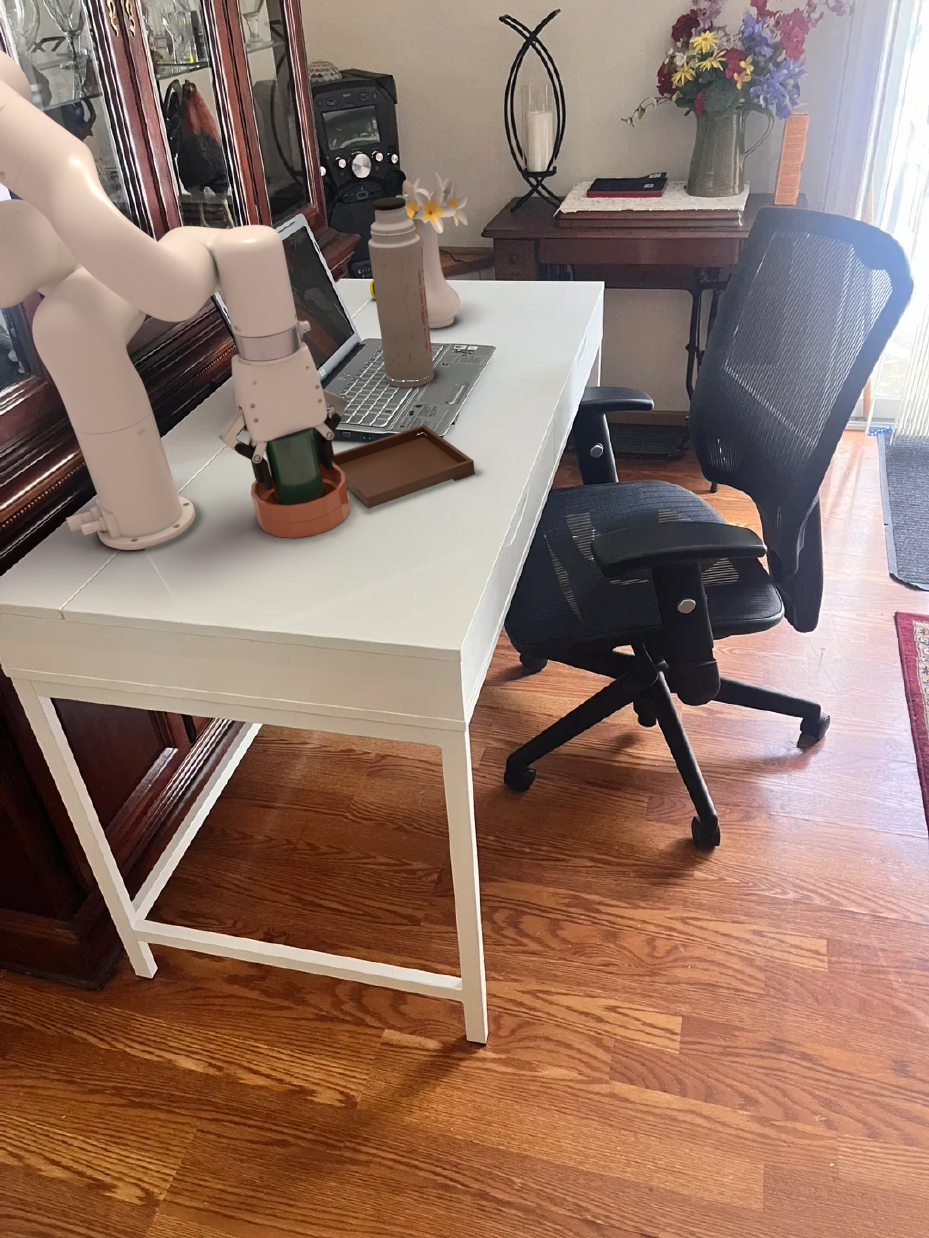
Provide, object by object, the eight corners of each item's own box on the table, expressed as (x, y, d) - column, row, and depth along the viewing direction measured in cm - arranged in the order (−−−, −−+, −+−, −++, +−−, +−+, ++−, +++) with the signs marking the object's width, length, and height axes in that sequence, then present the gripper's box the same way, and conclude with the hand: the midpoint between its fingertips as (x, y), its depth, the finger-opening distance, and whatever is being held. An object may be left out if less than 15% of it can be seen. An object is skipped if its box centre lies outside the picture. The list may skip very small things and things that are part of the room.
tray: (369, 511, 123) (366, 497, 122) (325, 470, 133) (323, 457, 132) (474, 473, 129) (473, 460, 128) (425, 437, 139) (424, 424, 138)
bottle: (290, 531, 119) (263, 407, 109) (272, 510, 124) (244, 390, 114) (336, 515, 122) (313, 392, 112) (317, 495, 126) (293, 375, 116)
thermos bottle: (438, 368, 159) (421, 192, 142) (428, 388, 153) (408, 206, 136) (393, 368, 161) (371, 194, 144) (381, 387, 155) (356, 208, 138)
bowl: (279, 551, 117) (271, 517, 114) (246, 512, 125) (238, 479, 122) (365, 520, 121) (360, 486, 118) (328, 484, 130) (322, 451, 127)
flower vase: (392, 342, 170) (373, 196, 155) (417, 306, 184) (402, 169, 169) (461, 342, 168) (449, 193, 152) (482, 306, 182) (473, 166, 167)
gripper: (324, 314, 115) (346, 445, 125) (186, 351, 108) (222, 485, 119) (349, 331, 109) (370, 466, 120) (206, 371, 103) (242, 509, 114)
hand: (296, 474), depth 119 cm, fingers open, 7 cm apart
